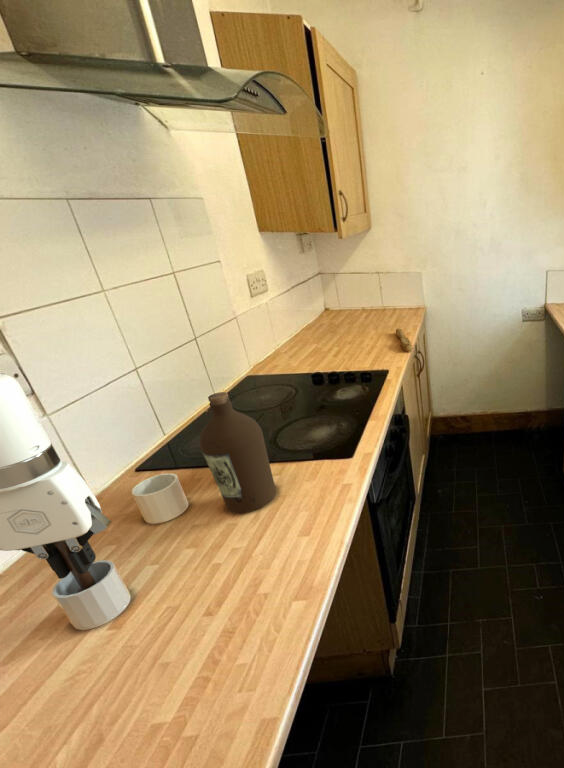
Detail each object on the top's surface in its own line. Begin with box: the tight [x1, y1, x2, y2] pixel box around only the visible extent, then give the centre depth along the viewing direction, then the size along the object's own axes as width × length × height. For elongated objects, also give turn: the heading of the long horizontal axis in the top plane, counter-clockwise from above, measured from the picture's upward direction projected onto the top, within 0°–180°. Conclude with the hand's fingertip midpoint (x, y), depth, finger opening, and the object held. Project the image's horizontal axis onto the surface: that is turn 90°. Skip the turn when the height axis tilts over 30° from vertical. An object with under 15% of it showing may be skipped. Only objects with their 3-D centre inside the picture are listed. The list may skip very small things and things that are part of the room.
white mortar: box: [51, 559, 132, 631], centre depth 64 cm, size 7×7×7 cm
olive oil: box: [199, 391, 277, 514], centre depth 85 cm, size 11×11×25 cm
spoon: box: [54, 540, 96, 593], centre depth 63 cm, size 4×2×14 cm, turn 110°
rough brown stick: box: [395, 327, 413, 353], centre depth 188 cm, size 3×3×30 cm
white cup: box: [131, 472, 189, 525], centre depth 85 cm, size 7×7×7 cm
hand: (78, 568), depth 62 cm, fingers closed on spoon, 1 cm apart
